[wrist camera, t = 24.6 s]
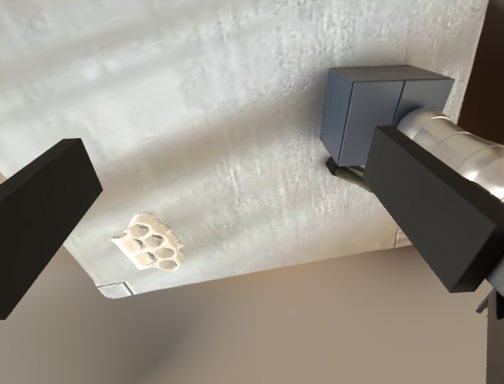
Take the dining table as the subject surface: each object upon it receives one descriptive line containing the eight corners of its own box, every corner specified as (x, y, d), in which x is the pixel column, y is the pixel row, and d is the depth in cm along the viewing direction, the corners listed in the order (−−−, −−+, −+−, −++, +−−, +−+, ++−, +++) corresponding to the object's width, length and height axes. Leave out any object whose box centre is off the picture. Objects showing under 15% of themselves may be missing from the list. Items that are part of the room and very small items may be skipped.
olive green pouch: (329, 176, 51) (388, 200, 55) (337, 164, 49) (398, 189, 53) (322, 164, 55) (378, 187, 59) (330, 152, 54) (387, 176, 57)
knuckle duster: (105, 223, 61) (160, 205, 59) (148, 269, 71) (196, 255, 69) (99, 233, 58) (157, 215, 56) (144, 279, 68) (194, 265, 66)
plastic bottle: (442, 104, 37) (606, 176, 21) (422, 147, 41) (547, 237, 24) (399, 102, 37) (532, 175, 20) (383, 146, 40) (483, 237, 24)
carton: (320, 139, 51) (338, 166, 42) (329, 67, 44) (354, 82, 35) (389, 136, 52) (422, 163, 43) (410, 65, 44) (455, 79, 35)
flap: (338, 165, 42) (338, 166, 42) (354, 82, 35) (355, 83, 35) (378, 163, 43) (379, 164, 42) (402, 80, 35) (404, 80, 35)
